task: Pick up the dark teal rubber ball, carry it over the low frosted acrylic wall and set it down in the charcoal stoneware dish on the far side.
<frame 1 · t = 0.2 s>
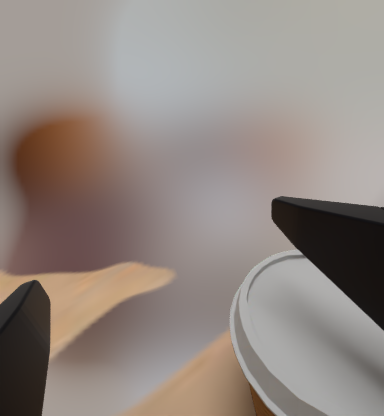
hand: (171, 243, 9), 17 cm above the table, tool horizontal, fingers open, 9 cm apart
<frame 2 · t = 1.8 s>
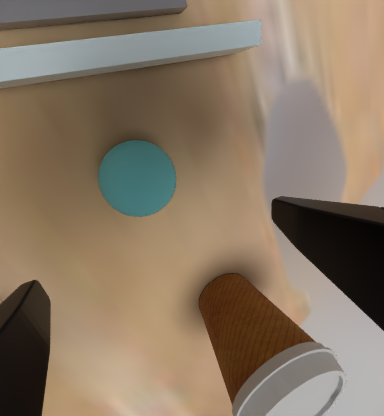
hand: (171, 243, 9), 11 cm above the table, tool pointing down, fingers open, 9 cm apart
disposable coffee cup: (222, 294, 27), on the table
wall: (102, 61, 14), on the table
ball: (138, 179, 16), point 2 cm above the table
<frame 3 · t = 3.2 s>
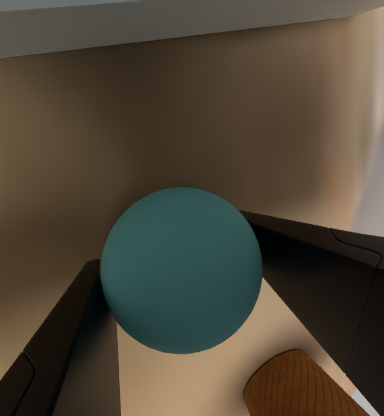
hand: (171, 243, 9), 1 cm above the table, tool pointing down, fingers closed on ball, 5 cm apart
disposable coffee cup: (274, 374, 19), on the table
wall: (111, 18, 6), on the table
ball: (182, 263, 8), point 2 cm above the table, touching gripper
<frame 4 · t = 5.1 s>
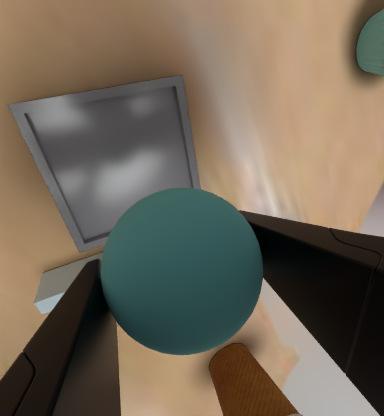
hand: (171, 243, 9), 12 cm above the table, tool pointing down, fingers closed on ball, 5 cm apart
disposable coffee cup: (227, 357, 35), on the table
wall: (149, 241, 22), on the table
ball: (182, 264, 8), point 13 cm above the table, touching gripper
dish: (125, 165, 19), on the table
cupcake: (372, 42, 23), on the table
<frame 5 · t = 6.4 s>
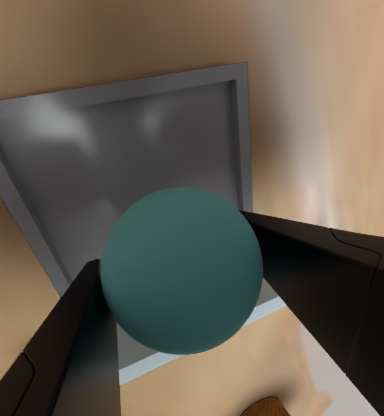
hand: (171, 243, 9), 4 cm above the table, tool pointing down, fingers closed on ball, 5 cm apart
disposable coffee cup: (256, 412, 29), on the table
wall: (175, 297, 16), on the table
ball: (182, 264, 8), point 6 cm above the table, touching gripper
dish: (149, 199, 12), on the table
when the fingers open (2 cm above the table, at t = 7.2 s): ball stays where it is, resting on dish.
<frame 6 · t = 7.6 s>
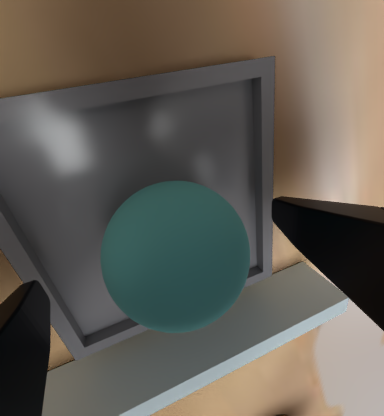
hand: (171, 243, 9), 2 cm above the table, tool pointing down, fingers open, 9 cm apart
wall: (183, 320, 14), on the table
ball: (176, 252, 8), point 3 cm above the table, touching dish
dish: (156, 215, 11), on the table
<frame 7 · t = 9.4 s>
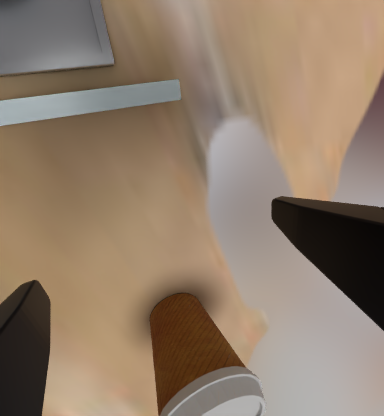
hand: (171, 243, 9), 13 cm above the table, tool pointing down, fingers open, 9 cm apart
disposable coffee cup: (175, 312, 29), on the table
wall: (38, 108, 16), on the table
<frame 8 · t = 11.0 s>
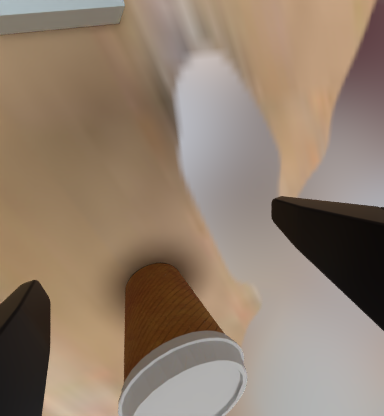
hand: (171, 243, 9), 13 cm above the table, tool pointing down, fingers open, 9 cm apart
disposable coffee cup: (154, 285, 26), on the table
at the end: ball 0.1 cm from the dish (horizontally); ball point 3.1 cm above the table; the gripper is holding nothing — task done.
